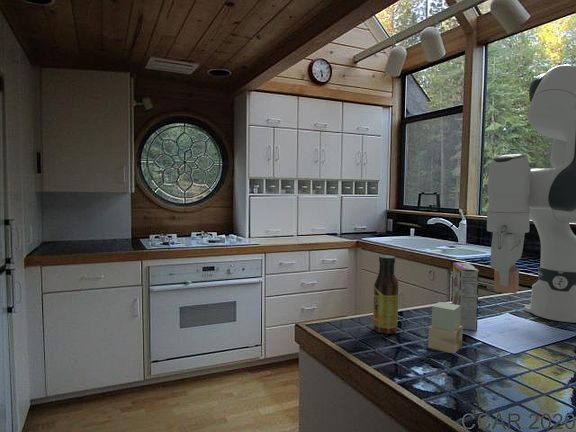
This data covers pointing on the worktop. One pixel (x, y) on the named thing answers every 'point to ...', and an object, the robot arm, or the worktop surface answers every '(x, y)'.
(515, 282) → the terracotta cube
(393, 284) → the sauce bottle
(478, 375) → the worktop surface
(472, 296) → the candy bar box
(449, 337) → the beige block
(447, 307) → the sage cube
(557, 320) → the robot arm
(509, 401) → the worktop surface
